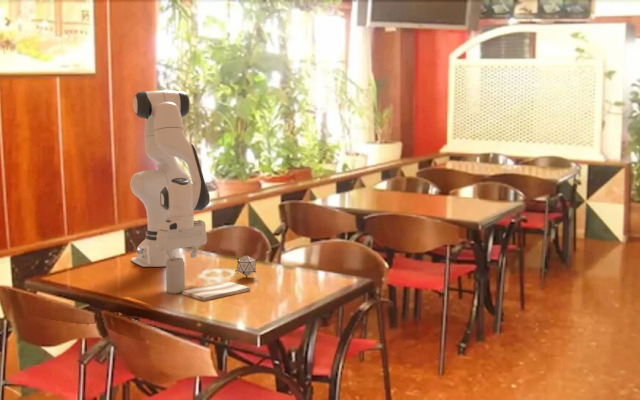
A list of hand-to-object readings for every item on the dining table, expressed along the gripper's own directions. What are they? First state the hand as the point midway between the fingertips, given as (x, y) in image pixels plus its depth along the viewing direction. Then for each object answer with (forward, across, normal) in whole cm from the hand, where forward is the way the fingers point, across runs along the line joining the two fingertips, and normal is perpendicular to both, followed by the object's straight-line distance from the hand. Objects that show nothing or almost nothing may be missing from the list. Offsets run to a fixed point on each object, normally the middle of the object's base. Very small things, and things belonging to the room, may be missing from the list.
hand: (182, 259), depth 283 cm
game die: (+9, -21, +11) cm, 25 cm away
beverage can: (+9, +10, +10) cm, 17 cm away
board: (+9, 0, +20) cm, 22 cm away
